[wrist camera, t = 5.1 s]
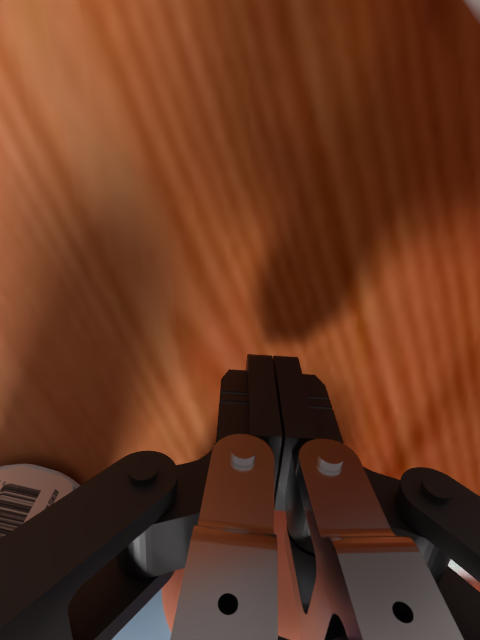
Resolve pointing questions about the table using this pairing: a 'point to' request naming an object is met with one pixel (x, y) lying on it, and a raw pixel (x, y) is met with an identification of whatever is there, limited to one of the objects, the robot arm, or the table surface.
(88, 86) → the table surface
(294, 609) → the ball
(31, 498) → the beer can
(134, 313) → the table surface
